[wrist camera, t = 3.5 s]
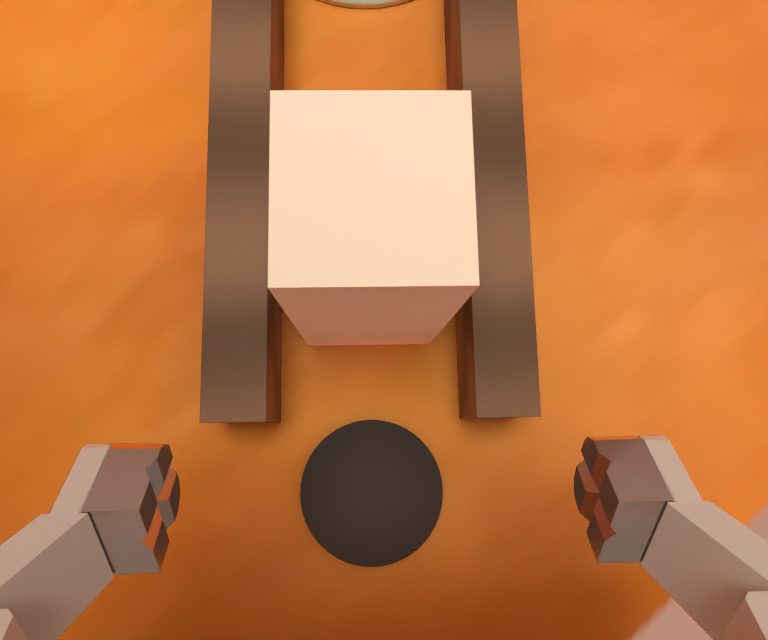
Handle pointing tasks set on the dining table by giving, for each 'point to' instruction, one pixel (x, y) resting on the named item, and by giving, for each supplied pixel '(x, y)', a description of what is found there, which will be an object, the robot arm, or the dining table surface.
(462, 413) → the track
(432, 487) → the pit disc
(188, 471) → the dining table surface
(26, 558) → the robot arm
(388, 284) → the block
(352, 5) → the mat
